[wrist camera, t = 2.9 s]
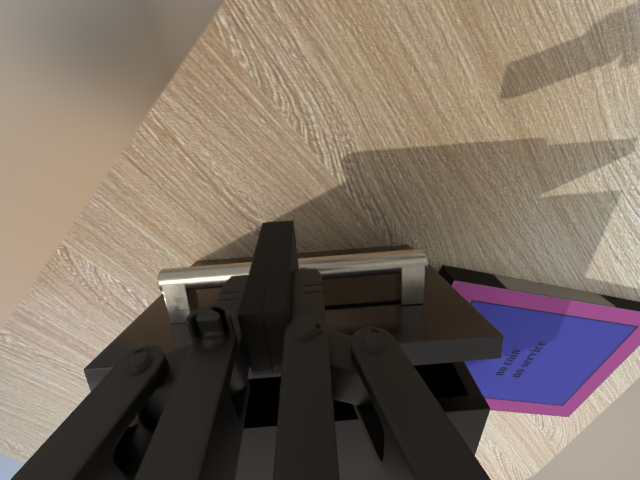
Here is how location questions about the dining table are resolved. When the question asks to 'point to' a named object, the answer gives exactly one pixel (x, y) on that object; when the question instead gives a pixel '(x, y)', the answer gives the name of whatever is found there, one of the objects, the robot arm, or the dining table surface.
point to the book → (546, 341)
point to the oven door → (329, 306)
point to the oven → (357, 422)
